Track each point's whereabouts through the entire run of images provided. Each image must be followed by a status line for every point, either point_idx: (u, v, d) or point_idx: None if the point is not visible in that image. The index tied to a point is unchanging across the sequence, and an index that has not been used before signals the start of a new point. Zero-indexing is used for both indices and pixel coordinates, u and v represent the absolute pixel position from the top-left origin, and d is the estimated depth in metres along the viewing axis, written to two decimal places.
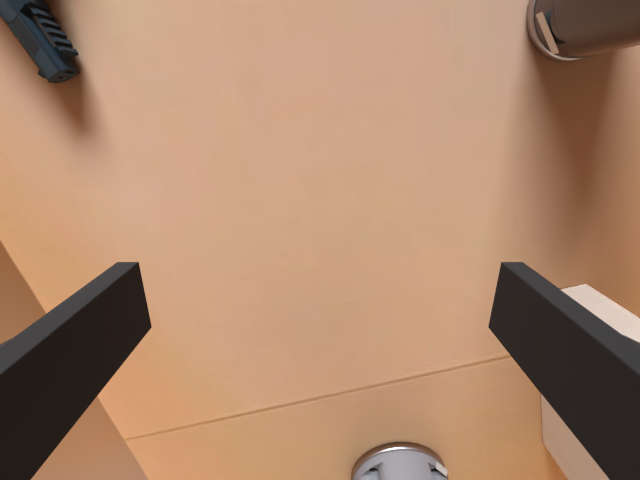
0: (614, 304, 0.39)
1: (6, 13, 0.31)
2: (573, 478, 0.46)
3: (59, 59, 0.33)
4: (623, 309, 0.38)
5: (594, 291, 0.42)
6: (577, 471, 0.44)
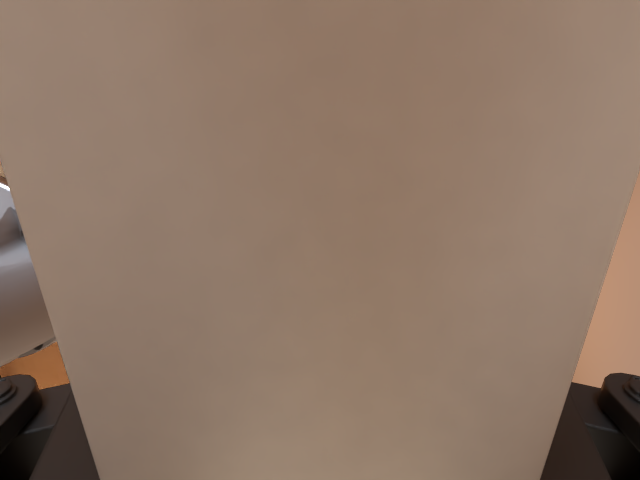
0: None
1: None
2: None
3: None
4: None
5: None
6: None
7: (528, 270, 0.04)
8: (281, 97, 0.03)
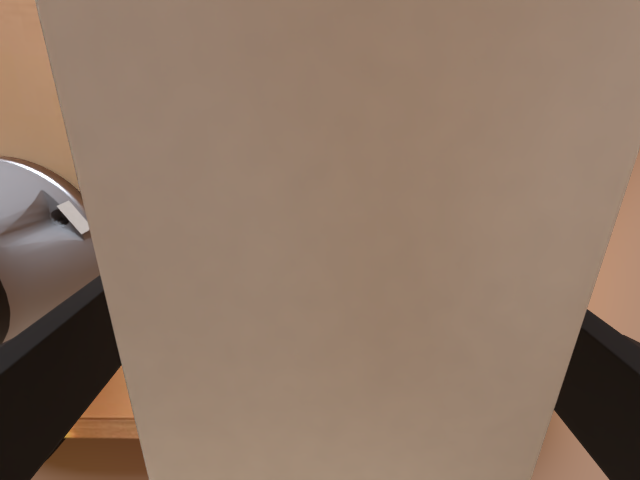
0: None
1: None
2: None
3: None
4: None
5: None
6: None
7: (546, 204, 0.04)
8: (320, 29, 0.03)
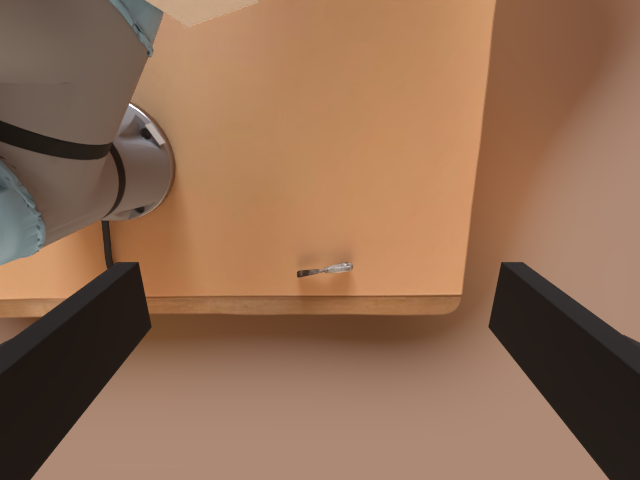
0: None
1: None
2: None
3: None
4: None
5: None
6: None
7: None
8: None
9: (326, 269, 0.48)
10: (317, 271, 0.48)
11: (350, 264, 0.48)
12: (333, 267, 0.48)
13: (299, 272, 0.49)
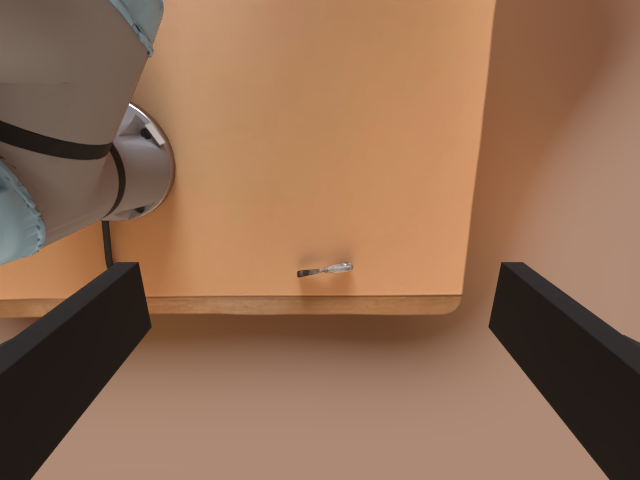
0: None
1: None
2: None
3: None
4: None
5: None
6: None
7: None
8: None
9: (326, 269, 0.48)
10: (317, 271, 0.48)
11: (350, 264, 0.48)
12: (333, 267, 0.48)
13: (299, 272, 0.49)
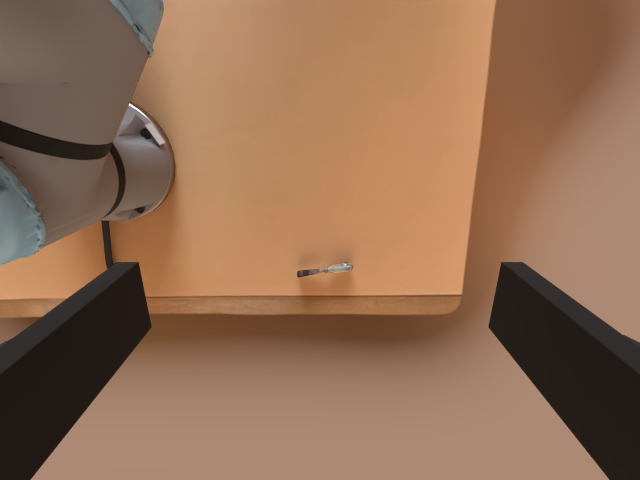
0: None
1: None
2: None
3: None
4: None
5: None
6: None
7: None
8: None
9: (326, 269, 0.48)
10: (317, 271, 0.48)
11: (350, 264, 0.48)
12: (333, 267, 0.48)
13: (299, 272, 0.49)
